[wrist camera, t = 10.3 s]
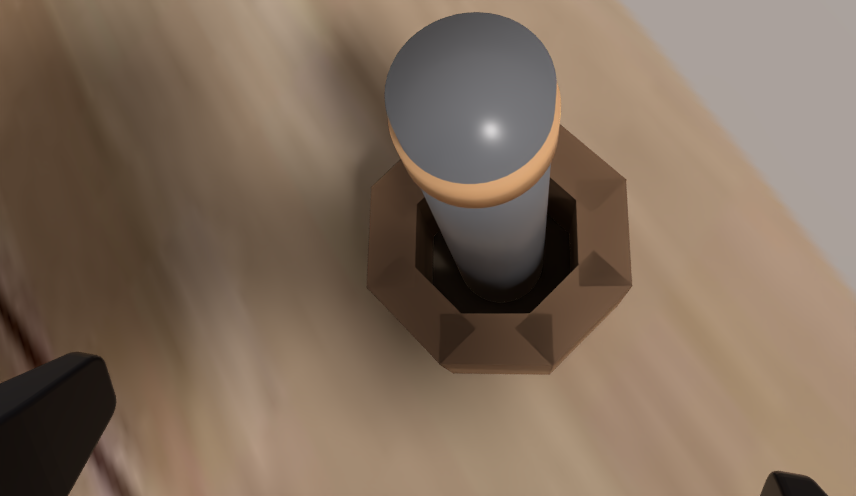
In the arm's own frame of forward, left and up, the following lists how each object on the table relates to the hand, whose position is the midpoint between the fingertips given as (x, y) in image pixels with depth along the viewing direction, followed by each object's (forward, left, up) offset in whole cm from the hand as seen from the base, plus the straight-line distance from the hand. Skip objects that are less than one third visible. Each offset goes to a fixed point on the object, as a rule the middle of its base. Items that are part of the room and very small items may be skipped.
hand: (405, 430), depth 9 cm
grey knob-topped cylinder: (+5, -1, -13) cm, 14 cm away
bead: (+5, -1, -13) cm, 14 cm away
